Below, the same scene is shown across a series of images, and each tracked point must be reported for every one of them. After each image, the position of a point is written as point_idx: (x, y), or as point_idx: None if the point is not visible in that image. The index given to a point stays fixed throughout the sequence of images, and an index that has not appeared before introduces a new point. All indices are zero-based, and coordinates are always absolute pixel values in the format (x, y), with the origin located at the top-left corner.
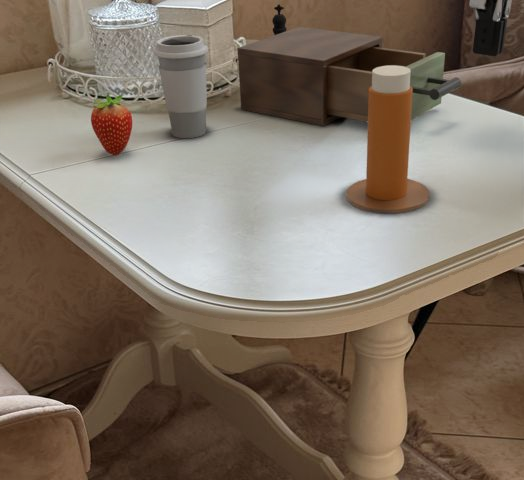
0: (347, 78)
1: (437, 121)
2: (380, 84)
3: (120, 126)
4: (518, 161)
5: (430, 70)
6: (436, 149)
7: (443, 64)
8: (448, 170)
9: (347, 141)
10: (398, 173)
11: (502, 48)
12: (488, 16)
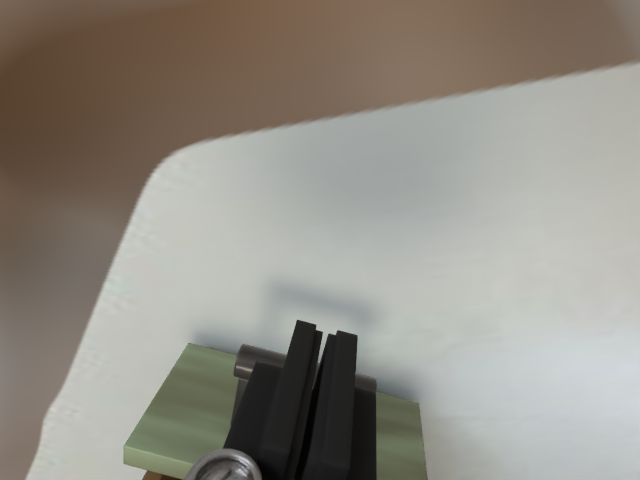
0: None
1: (274, 325)
2: None
3: None
4: (534, 84)
5: (222, 440)
6: (473, 296)
7: (145, 419)
8: (624, 246)
9: (457, 453)
10: None
11: (302, 332)
12: None
